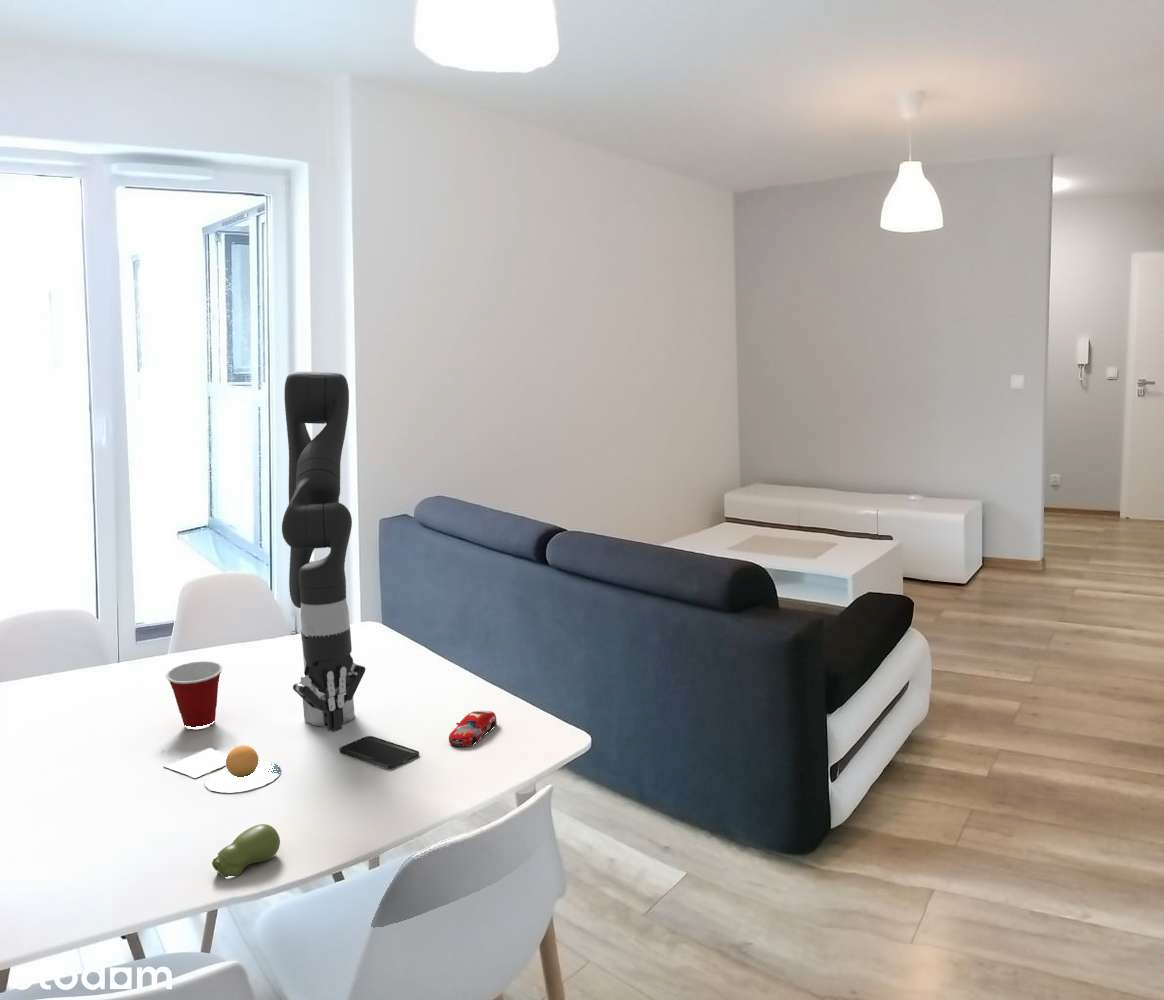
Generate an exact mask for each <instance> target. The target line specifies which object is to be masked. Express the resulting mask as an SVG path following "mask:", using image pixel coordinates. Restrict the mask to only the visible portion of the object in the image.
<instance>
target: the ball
mask: <svg viewBox="0 0 1164 1000" xmlns="http://www.w3.org/2000/svg"><path fill="white" fill-rule="evenodd" d="M228 753H229V754H228V756H227V759H226V766H227V769H228V771H229V772H230V773H231V774H232V775H234V776H237V777H244V776H248V775H250V774H251V773H253V772H254V771H255V769H256V767H257V765H258V761H259V754H258V753H257V752H256V750H255V749H254V748H253V747H251V746H249V745H238V746H235V747H234V748H233V749H231V750H230V751H229V752H228ZM226 766H225V767H226Z"/></svg>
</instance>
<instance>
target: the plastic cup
mask: <svg viewBox="0 0 1164 1000" xmlns="http://www.w3.org/2000/svg"><path fill="white" fill-rule="evenodd" d="M222 671H223V666H222V665H221V663H218V662H215V661H208V660H207V661H206V660H202V661H200V660H199V661H191V662H187V663H183V664H179V665H177V666H174V667H173V668H171V669H170V670H168V671H167V672H166V674H165V677H166V679H167V680H168V683H169V684H170V687H171V689H172V691H173V694H174V698H175V701H176V704H177V708H178V711H179V713H180V716H181V719H182V723H184V724H183V725H184V726H185V725H186V726H191V727H196V726H203V725H207V724H210V723H212V722H213V721H215V720H216V716H217V715H216V714H217V713H216V712H217V706H218V705H217V704H218V693H219V692H218V691H219V682H220V677H221V673H222Z"/></svg>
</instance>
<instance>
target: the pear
mask: <svg viewBox="0 0 1164 1000" xmlns="http://www.w3.org/2000/svg"><path fill="white" fill-rule="evenodd" d="M280 844H281V839H280V835H279V834H278V832H277V830H276V829H275V827H273V826H271V825H269V824H267V823H266V824H265V823H260V824H257V825H254V826H251V827H248V828H247V829H245V830H243V832H241V833H240V834H238V836H237V837H236V838H235V839H234V840H232V842H231V843H230V844H229V845H227V846H225V847H223V848H222V849H221V850H220V851H218V853H217V856H216V857H215V858H213V859H212V861H211V865H212V868H213V869H214V870H215V871H216V872H217V871H218V872H219V873H220V874H219V873H218V872H217V873H218V874H219V875H221V874H222V875H223V876H224V877H228V876H236V877H238V876H239V875H241V873H242V872H243V871H244V869H245V868H246V867H247V866H248V865H251V864H256V863H263V862H267V861H269V860H271V859H272V858H274V857H275V856H276V854H277V853H278V851H279V848H280V846H281V845H280ZM222 875H221V876H222ZM237 875H238V876H237ZM223 876H222V877H223ZM224 877H223V878H224Z"/></svg>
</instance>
